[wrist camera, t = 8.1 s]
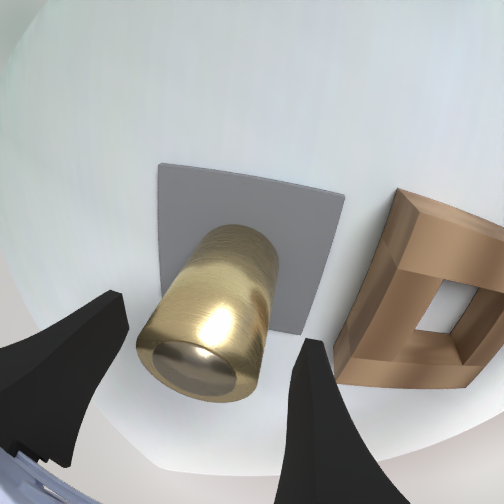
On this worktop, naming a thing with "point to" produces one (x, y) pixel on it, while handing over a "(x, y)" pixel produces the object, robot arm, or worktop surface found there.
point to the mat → (254, 216)
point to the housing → (424, 300)
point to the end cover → (214, 318)
